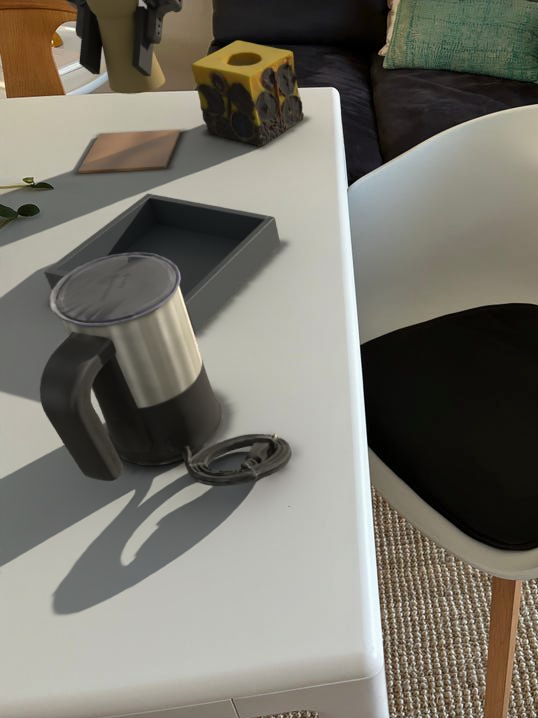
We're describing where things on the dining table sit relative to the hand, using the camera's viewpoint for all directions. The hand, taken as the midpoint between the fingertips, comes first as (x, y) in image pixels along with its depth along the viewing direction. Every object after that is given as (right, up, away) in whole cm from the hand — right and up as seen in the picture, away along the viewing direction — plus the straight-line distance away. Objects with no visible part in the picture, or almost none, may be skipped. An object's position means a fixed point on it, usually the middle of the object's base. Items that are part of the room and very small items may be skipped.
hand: (115, 69), depth 84 cm
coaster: (-8, -3, +21) cm, 23 cm away
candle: (+8, +2, +27) cm, 28 cm away
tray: (+7, -22, 0) cm, 23 cm away
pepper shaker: (0, 0, +5) cm, 5 cm away
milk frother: (+16, -39, -19) cm, 46 cm away
